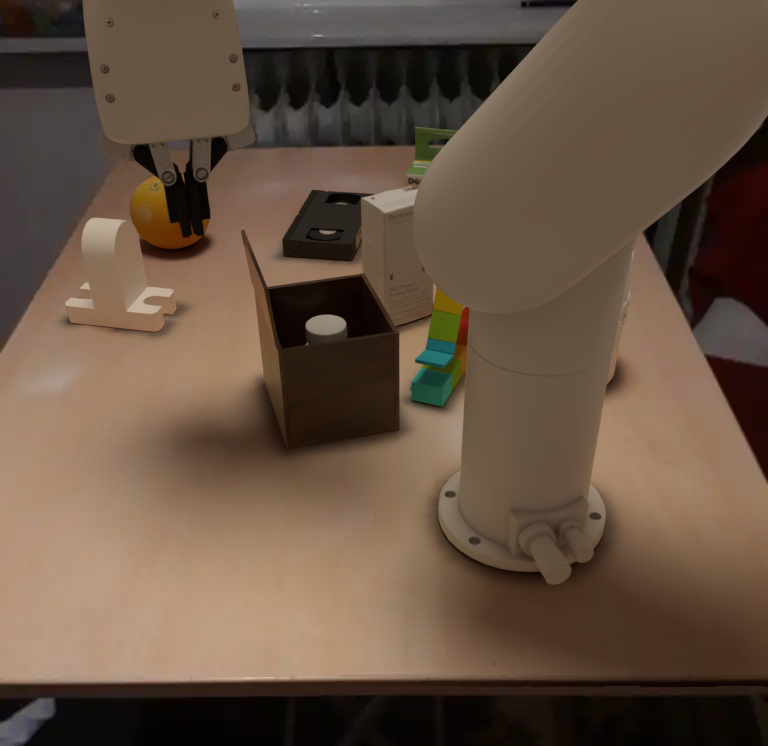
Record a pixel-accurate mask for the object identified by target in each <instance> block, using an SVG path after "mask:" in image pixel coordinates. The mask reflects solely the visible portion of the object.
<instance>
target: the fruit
mask: <svg viewBox="0 0 768 746" xmlns="http://www.w3.org/2000/svg"><path fill="white" fill-rule="evenodd" d="M181 174H182V177H183V180H184V175H183V173H181ZM184 184H185V182H184ZM209 207H210V208H211V204H210V203H209ZM211 213H212V212H211V209H210V214H211ZM129 214H130V219H131V222H132V223H133V224H134V226H135V228H136V230H137V233H138V235H139V236H140V237H141V238H142V239H143V240H144V241H146V242H147V243H148V244H150V245H151V246H154V247H157V248H160V249H165V250H179V249H183V248H186V247H189V246H191V245H193V244H195V243H196V242H198V241H199V240H200V239H201V238H203V236H197V235H194V232H193V229H192V226H191V230H192V235H190V237H188V238H183V237H182V233H181V230H180V226H179V223H170V221H169V216H168V210H167V203H166V197H165V191H164V184H162V183H161V181H160V179H159V178H157V177H156V176H155V175H153V176H151V177H149V178H147V179H145V180H144V181H143V182H141V183H140V184H139V185H137V187H135V189H134V191H133V193H132V195H131V197H130V202H129ZM202 221H203V229H204V234H205V233H206V232H207V229H208V228H209V225H210V221H211V219H205V220H202Z"/></svg>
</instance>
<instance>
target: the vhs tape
mask: <svg viewBox="0 0 768 746" xmlns="http://www.w3.org/2000/svg"><path fill="white" fill-rule="evenodd" d="M372 195H375V194H374V193H367V192H366V193H365V192H352V191H351V192H350V191H335V190H334V191H333V190H332V191H331V190H328V191H326V190H323V189H322V190H321V189H311V191H310V192H309V194H308V196H307V197H306V199H305V201H304V202H303V204H302V205H301V207H300V209H299V211H298V214H296V215H295V217H294V219H293V221H292V222H291V224H290V226H289V227H288V229H287V231H286V233H285V234H284V235H283V238H282V239H281V242H282V255H283V257H293V258H306V259H307V258H308V259H323V260H339V261H352V260H354V258H355V256H356V253H357V252H358V249H359V247H360V245H361V243H362V224H361V199H362V198H363V197H367V196H372Z"/></svg>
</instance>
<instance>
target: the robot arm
mask: <svg viewBox="0 0 768 746" xmlns="http://www.w3.org/2000/svg"><path fill="white" fill-rule="evenodd" d="M82 13H83V15H82V16H83V24H84V25H83V26H84V34H85V41H86V42H85V43H86V47H87V55H88V63H89V69H90V70H89V71H90V76H91V82H92V83H91V84H92V90H93V94H94V100H95V104H96V109H97V112H98V117H99V121H100V123H101V130H100V131H101V132H100V149H101V154H102V156H103V157H105V158H106V159H110V160H116V161H122V162H136V163H137V164H138V165H140V166H141V167H142V168H144V169H145V170H147V171H148V172H149V173H150V174H151V175H153V176H156V177H157V178H159V179H160V181H161V183H162V184H164V191H165V197H166V203H167V210H168V216H169V221H170V223H179V226H180V230H181V233H182V237H183V238H188V237H190V235H192V230H191V226H192V229H193V232H194V235H197V236H202V237H203V236H205V233H204V229H203V221H202V220H205V219H210V220H211V219H212V215H211V213H210V210H211V206H210V207H209V204H210V200H209V192H208V185H207V183H208V182H207V181H208V180H209V179H210V178H211V173H212V171H214V169H215V168H216V166H217V165H218V164H219V162H221V160H222V159H223V157H225V155H226V154H227V153H229V152H234V151H237V150H239V149H242V148H245V147H247V146H250V145H252V144H254V143H255V141H256V134H255V131H254V127H253V125H252V122H251V116H250V115H251V111H250V110H251V108H250V95H249V89H248V88H249V87H248V81H247V73H246V72H247V71H246V67H245V59H244V54H243V53H244V52H243V46H242V41H241V34H240V29H239V24H238V20H237V16H236V11H235V5H234V1H233V0H82ZM767 117H768V0H576V2H575V3H573V5H572V6H571V7H570V8H568V10H567V11H566V12H565V13H564V14H563V15H562V16H561V17H560V18H559V19H558V20H557V22H555V24H554V25H553V26H552V27H551V28H550V29H549V30H548V31H547V32H546V34H545V35H544V36H543V37H542V38H541V39H540V40H539V42H537V44H535V46H534V47H532V49H531V50H530V51H529V52H528V53H527V55H526V56H524V58H523V59H522V60H521V61H520V62H519V63H518V65H517V66H515V68H514V69H513V70H512V71H511V72H510V73H508V75H507V76H506V78H504V80H503V81H502V82H501V83H500V84H499V85H498V86H497V87H496V89H494V91H493V92H492V93H491V94H490V95H489V96H488V97H487V99H485V100H484V101H483V102H482V104H481V105H480V106H479V107H478V108H477V109H476V110H475V112H474V113H473V114H472V115H471V116H470V117H469V118H468V119H467V120H466V121H465V122H464V123H463V124H462V126H461V127H460V128H459V129H458V130H456V131H457V132H456V134H455V135H454V136H453V137H452V138H451V139H450V140H449V139H448V141H447V142H446V143H445V145H443V146H442V147H441V148H442V149H441V150H440V152H439V153H438V154H437V155H436V156H435V158H434V159H433V160H432V162H431V163H430V165H429V166H428V168H427V170H426V172H425V174H424V176H423V178H422V180H421V182H420V185H419V188H418V191H417V194H416V199H415V203H414V210H413V234H414V241H415V245H416V249H417V253H418V256H419V259H420V261H421V263H422V266H423V268H424V269H425V271H426V273H427V275H428V276H429V278H430V279H431V281H432V282H433V285H434V286H435V287H436V289H437V288H438V289H439V290H440V291H442V292H443V293H444V294H445V295H446V296H448V297H449V298H450V299H452V300H454V301H455V302H457V303H459V304H461V305H463V307H464V308H465V307H468V308H470V310H469V326H468V339H467V355H466V371H465V373H464V374H465V375H464V377H465V378H464V396H463V414H462V415H463V417H462V436H461V451H460V452H461V455H460V469H458V470H457V471H456V472H455V473H454V474H452V475H451V476H450V477H449V478H448V480H447V481H446V482H445V483H444V484H443V486H442V488H441V490H440V493H439V496H438V505H437V512H438V513H437V515H438V522H439V524H440V528H441V530H442V532H443V534H444V535H445V536H446V538H447V540H448V541H449V542H450V543H451V544H452V545H453V546H455V548H456V549H457V550H458V551H460V552H461V553H462V554H465V555H466V556H468V557H469V558H471V559H473V560H475V561H477V562H479V563H481V564H484V565H487V566H490V567H493V568H496V569H500V570H505V571H512V572H522V573H523V572H524V573H537V572H540V574H541V575H542V576H543V579H544V580H545V582H546V583H547V584H549V585H551V586H554V585H555V586H556V585H559V584H562V583H564V582H566V581H567V580H568V579H569V578H570V577H571V574H572V566H571V565H572V564H574V563H576V562H577V563H579V564H584V563H587V562H589V561H590V560H592V559H593V557H594V555H595V550H594V549H595V548H596V547H597V546H598V544H599V542H600V541H601V539H602V537H603V535H604V530H605V525H606V521H607V520H606V519H607V510H606V506H605V501H604V500H603V498H602V496H601V494H600V492H599V490H598V489H596V487H595V486H594V484H592V481H591V480H592V475H593V469H594V462H595V457H596V451H597V446H598V445H597V444H598V439H599V432H600V428H601V421H602V414H603V410H604V409H603V408H604V404H605V403H604V402H605V398H606V391H607V386H608V384H607V380H608V374H609V368H610V362H611V356H612V351H613V348H614V343H615V337H616V331H617V326H618V320H619V314H620V309H621V304H622V298H623V293H624V288H625V284H626V279H627V275H628V270H629V266H630V262H631V258H632V254H633V250H635V247H636V242H637V239H638V236H639V235H641V233H643V232H644V231H645V230H647V229H648V228H649V227H651V226H652V225H653V224H654V223H655V222H657V221H658V220H660V218H662V217H663V216H664V215H666V214H667V213H668V212H669V211H671V210H672V209H673V208H675V207H676V206H677V205H678V204H679V203H681V202H682V201H684V199H686V198H687V197H688V196H690V195H691V194H692V193H694V191H696V190H697V189H698V188H700V187H701V186H702V185H703V184H704V183H705V182H706V181H708V180H709V179H710V178H711V177H712V176H713V175H715V174H716V173H717V172H718V171H719V170H720V169H721V168H722V167H723V166H725V164H727V163H728V161H730V160H731V158H733V157H734V156H735V155H736V154H737V153H738V152H739V151H740V150H741V149H742V147H744V146H745V144H746V143H748V141H749V140H750V139H751V138H752V137H753V135H755V133H756V132H757V131H758V130H759V128H760V127H761V126H762V124H763V122H764V121H765V120H766V119H767ZM176 141H177V142H179V141H188V161H187V162H186V163H185V168H184V170H185V171H184V172H181V171H180V169H179V166H178V164H176V163H175V162H173V159H172V157H171V153H170V150H169V146H168V143H167V142H176ZM182 174H183V175H184V180H183V177H182ZM184 182H185V184H184Z"/></svg>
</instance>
